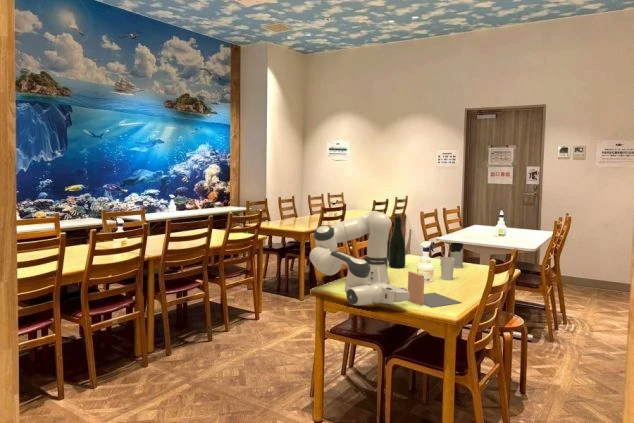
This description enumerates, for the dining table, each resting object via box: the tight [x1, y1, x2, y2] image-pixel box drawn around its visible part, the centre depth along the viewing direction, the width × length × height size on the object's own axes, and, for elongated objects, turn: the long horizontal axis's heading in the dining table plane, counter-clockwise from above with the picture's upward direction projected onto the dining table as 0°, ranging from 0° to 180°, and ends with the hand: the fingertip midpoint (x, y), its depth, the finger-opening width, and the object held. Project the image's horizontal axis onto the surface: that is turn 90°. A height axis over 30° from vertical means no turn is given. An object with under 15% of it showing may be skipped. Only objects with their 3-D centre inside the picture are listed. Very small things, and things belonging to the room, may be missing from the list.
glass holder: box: [440, 242, 464, 269], centre depth 320 cm, size 9×14×15 cm, turn 69°
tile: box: [407, 270, 425, 306], centre depth 237 cm, size 2×10×14 cm, turn 26°
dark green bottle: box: [388, 214, 406, 269], centre depth 317 cm, size 10×10×33 cm
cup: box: [440, 256, 455, 281], centre depth 286 cm, size 8×8×12 cm
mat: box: [423, 292, 462, 308], centre depth 242 cm, size 18×20×1 cm
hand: (405, 289), depth 234 cm, fingers closed
